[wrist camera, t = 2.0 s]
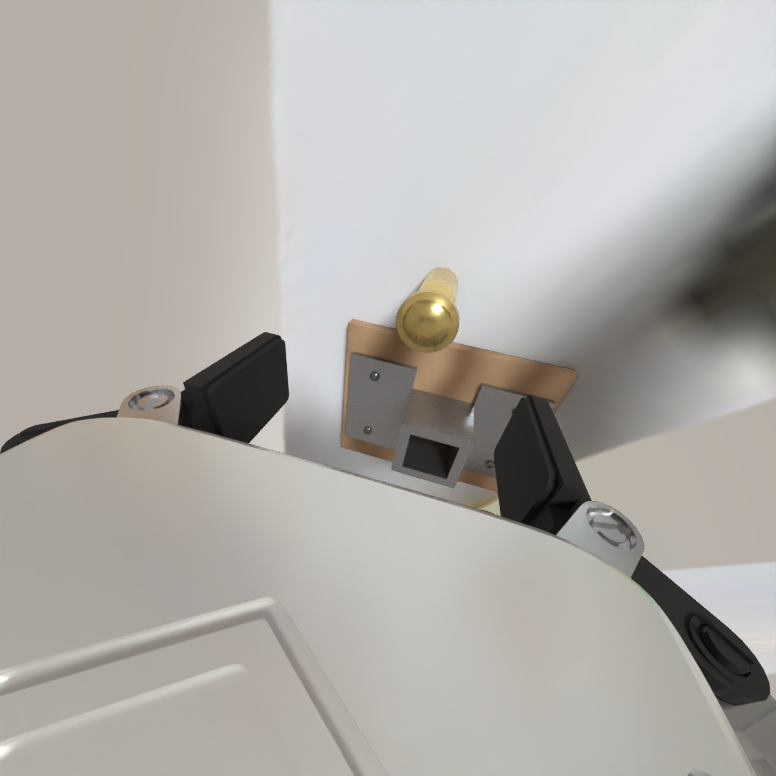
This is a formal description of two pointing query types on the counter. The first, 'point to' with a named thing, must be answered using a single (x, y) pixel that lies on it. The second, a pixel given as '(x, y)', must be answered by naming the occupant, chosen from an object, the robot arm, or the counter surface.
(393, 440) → the hinge
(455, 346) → the mount board
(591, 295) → the counter surface
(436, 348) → the hinge pin
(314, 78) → the counter surface
